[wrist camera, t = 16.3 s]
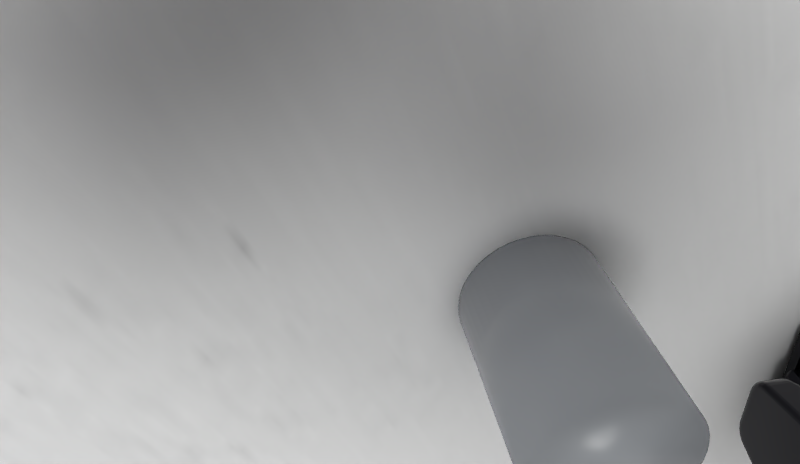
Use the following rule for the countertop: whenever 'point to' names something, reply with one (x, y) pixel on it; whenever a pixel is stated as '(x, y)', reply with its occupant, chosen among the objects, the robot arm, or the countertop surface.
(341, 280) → the countertop surface
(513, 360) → the grey cylinder
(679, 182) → the countertop surface
